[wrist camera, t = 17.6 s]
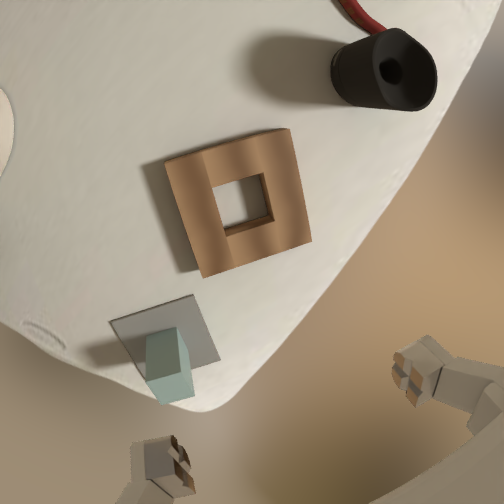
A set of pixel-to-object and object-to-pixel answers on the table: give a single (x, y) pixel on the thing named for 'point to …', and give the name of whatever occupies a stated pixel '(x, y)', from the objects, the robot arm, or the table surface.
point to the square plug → (168, 367)
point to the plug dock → (231, 169)
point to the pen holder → (385, 72)
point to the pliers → (361, 16)
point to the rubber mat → (163, 318)
